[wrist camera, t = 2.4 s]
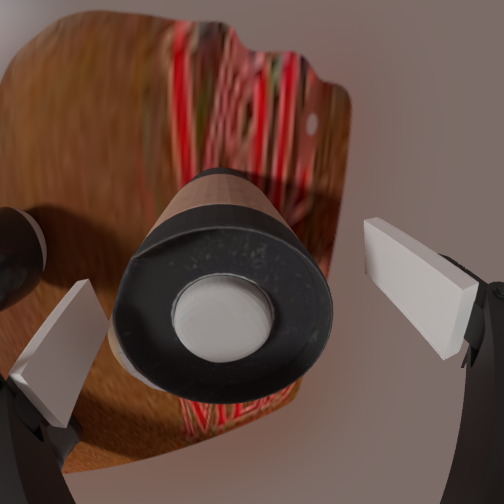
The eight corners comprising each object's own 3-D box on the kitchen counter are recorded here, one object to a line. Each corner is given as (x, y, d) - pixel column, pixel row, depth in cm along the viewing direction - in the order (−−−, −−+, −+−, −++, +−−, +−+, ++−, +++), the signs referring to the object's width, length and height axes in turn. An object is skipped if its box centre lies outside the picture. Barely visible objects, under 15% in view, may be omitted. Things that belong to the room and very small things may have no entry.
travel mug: (267, 228, 29) (345, 375, 10) (195, 249, 29) (168, 419, 10) (247, 154, 26) (318, 185, 7) (170, 178, 26) (68, 265, 7)
